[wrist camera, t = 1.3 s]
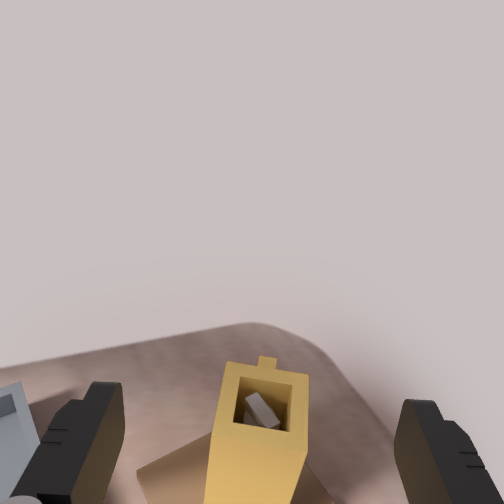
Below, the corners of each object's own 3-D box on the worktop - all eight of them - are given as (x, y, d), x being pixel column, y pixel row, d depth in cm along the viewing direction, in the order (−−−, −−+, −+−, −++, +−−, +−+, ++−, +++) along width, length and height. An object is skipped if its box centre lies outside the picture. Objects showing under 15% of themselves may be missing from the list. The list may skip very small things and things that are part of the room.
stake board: (136, 477, 33) (131, 388, 27) (261, 413, 39) (280, 326, 33) (240, 703, 24) (266, 645, 18) (382, 578, 30) (438, 501, 24)
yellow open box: (279, 534, 30) (307, 452, 25) (201, 521, 31) (211, 435, 25) (284, 441, 36) (309, 355, 30) (219, 429, 36) (230, 342, 30)
